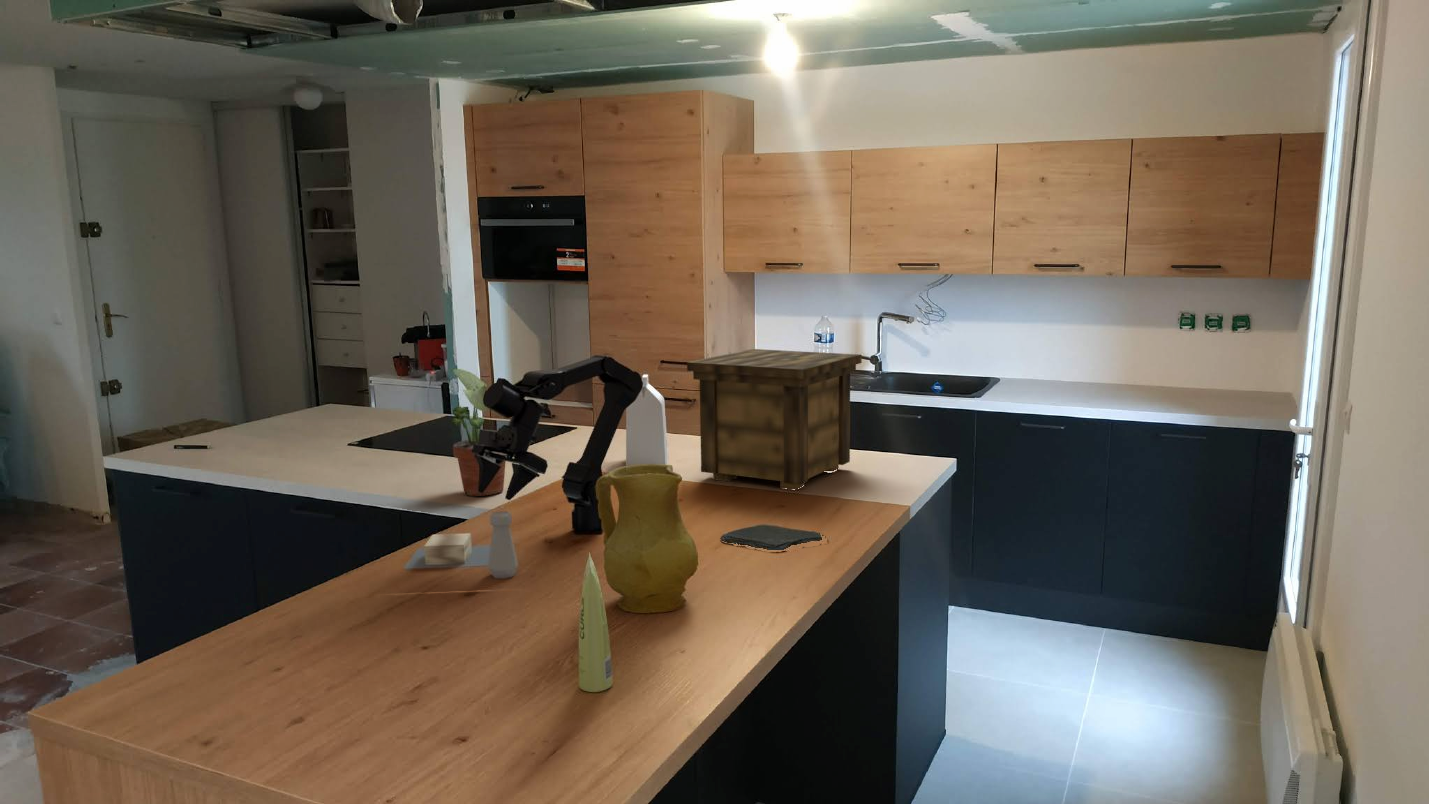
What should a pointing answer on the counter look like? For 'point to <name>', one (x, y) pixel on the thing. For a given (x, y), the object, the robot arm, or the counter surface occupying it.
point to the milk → (646, 428)
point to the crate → (774, 414)
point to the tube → (593, 636)
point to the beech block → (448, 549)
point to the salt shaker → (502, 546)
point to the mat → (476, 558)
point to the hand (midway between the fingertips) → (493, 495)
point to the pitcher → (645, 538)
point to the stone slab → (770, 537)
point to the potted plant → (473, 437)
